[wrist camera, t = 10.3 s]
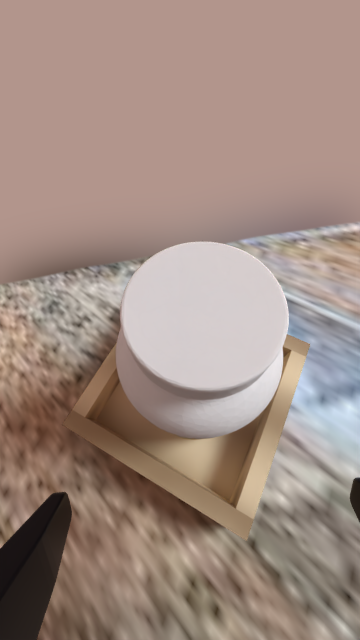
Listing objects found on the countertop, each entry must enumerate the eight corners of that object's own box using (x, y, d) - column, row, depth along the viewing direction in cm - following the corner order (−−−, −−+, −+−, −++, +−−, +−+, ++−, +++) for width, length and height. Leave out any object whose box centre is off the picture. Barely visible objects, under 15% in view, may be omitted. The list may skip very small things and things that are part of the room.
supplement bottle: (164, 336, 21) (137, 197, 9) (246, 360, 20) (336, 239, 8) (132, 422, 18) (35, 384, 6) (226, 454, 17) (319, 481, 5)
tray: (236, 524, 16) (246, 540, 13) (80, 427, 18) (61, 424, 16) (293, 357, 20) (310, 344, 18) (161, 298, 23) (158, 278, 20)
